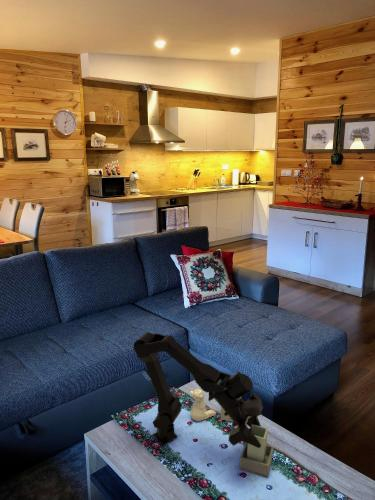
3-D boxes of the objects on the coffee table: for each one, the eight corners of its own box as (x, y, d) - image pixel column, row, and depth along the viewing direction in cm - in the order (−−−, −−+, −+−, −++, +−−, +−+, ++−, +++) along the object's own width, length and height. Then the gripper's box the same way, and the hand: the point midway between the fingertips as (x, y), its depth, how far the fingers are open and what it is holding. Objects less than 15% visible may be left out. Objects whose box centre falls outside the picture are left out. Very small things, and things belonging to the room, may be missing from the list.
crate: (239, 469, 129) (240, 457, 128) (246, 450, 137) (246, 439, 136) (267, 477, 126) (268, 465, 125) (272, 457, 134) (273, 446, 133)
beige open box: (246, 460, 130) (248, 434, 127) (250, 449, 135) (252, 424, 132) (262, 465, 128) (264, 438, 125) (266, 454, 133) (267, 428, 130)
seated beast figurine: (216, 415, 155) (217, 387, 152) (204, 427, 149) (204, 399, 146) (196, 406, 161) (196, 379, 158) (183, 417, 154) (183, 390, 151)
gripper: (240, 409, 118) (275, 451, 117) (254, 376, 135) (285, 413, 134) (214, 425, 123) (247, 465, 122) (231, 391, 140) (260, 427, 139)
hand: (261, 441), depth 129 cm, fingers closed on beige open box, 5 cm apart
